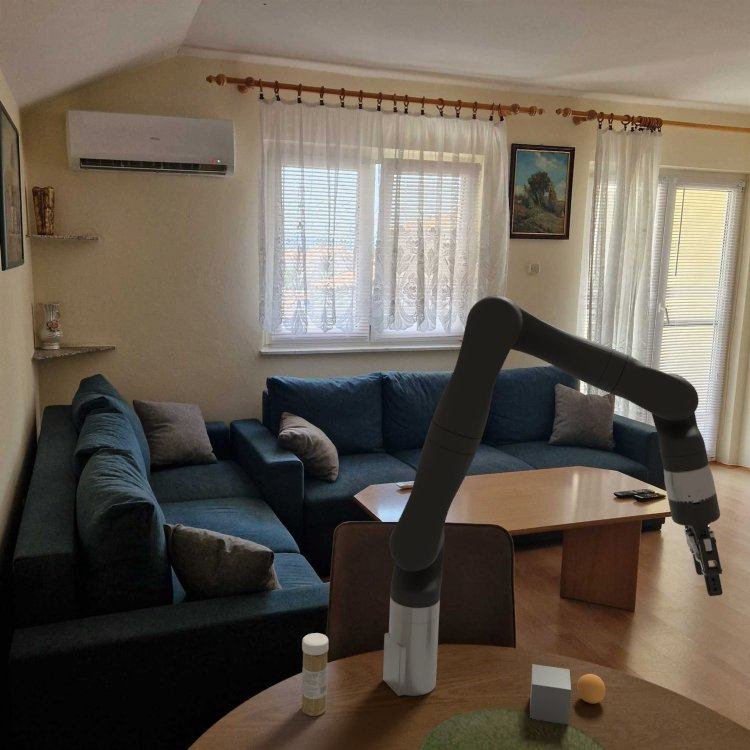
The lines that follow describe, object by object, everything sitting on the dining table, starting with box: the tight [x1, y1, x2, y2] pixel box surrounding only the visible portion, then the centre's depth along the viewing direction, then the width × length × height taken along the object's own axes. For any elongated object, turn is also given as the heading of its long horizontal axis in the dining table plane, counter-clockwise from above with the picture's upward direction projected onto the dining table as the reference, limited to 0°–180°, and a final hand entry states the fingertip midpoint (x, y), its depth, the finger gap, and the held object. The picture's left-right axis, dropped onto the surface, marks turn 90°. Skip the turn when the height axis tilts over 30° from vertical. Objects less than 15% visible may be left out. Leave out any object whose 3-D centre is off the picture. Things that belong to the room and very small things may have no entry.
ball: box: [576, 673, 606, 704], centre depth 133 cm, size 5×5×5 cm
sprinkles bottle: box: [301, 632, 329, 717], centre depth 127 cm, size 5×5×13 cm
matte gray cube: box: [529, 663, 572, 725], centre depth 129 cm, size 7×7×7 cm
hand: (709, 584), depth 122 cm, fingers open, 8 cm apart
